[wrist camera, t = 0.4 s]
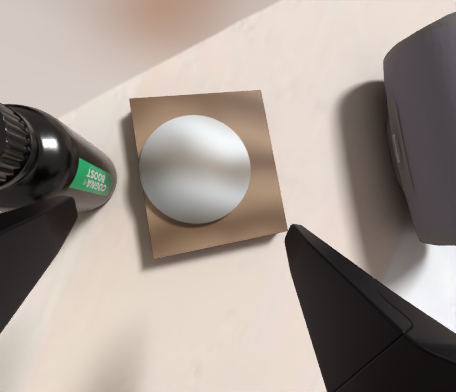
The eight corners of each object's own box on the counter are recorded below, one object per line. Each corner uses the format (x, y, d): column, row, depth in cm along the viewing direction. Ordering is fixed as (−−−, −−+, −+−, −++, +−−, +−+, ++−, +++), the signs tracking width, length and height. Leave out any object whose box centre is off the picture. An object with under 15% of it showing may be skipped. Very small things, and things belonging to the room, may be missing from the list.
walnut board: (279, 229, 24) (290, 231, 22) (157, 255, 22) (152, 260, 19) (255, 99, 25) (262, 86, 23) (134, 108, 23) (127, 95, 20)
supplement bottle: (133, 181, 22) (66, 142, 10) (79, 227, 21) (-70, 243, 9) (86, 133, 21) (-41, 35, 10) (28, 177, 20) (-200, 125, 8)
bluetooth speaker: (443, 229, 29) (575, 236, 19) (388, 240, 27) (501, 255, 17) (411, 73, 30) (517, 5, 20) (356, 74, 28) (443, 0, 19)
